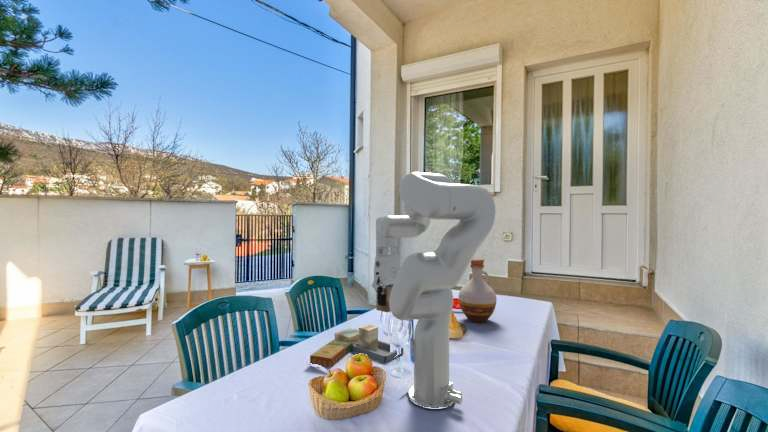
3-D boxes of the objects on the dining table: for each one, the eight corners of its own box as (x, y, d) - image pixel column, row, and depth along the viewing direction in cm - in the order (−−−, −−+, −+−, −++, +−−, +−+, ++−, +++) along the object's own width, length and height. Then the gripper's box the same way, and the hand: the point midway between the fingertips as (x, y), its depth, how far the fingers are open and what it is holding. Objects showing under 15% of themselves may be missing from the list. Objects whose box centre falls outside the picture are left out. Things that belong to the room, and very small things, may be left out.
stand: (364, 345, 127) (364, 331, 127) (349, 351, 121) (349, 337, 121) (349, 340, 132) (349, 327, 132) (334, 346, 126) (334, 332, 126)
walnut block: (396, 309, 116) (396, 286, 116) (387, 312, 112) (387, 288, 112) (385, 307, 119) (385, 284, 119) (376, 309, 115) (376, 286, 115)
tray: (403, 356, 117) (403, 347, 117) (385, 365, 109) (385, 356, 109) (369, 345, 127) (369, 337, 127) (351, 353, 119) (351, 345, 119)
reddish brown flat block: (309, 367, 108) (309, 354, 108) (332, 350, 123) (332, 338, 123) (331, 371, 105) (331, 358, 106) (353, 353, 121) (353, 341, 121)
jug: (474, 312, 173) (474, 255, 174) (505, 320, 160) (505, 258, 160) (450, 319, 161) (450, 258, 161) (482, 328, 147) (482, 261, 148)
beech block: (377, 348, 121) (378, 327, 121) (368, 353, 117) (368, 330, 117) (367, 345, 124) (367, 324, 124) (358, 349, 120) (358, 327, 120)
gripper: (379, 253, 107) (379, 310, 106) (409, 250, 120) (409, 301, 119) (362, 252, 112) (362, 307, 111) (392, 250, 125) (393, 298, 124)
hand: (387, 303), depth 115 cm, fingers closed on walnut block, 5 cm apart
